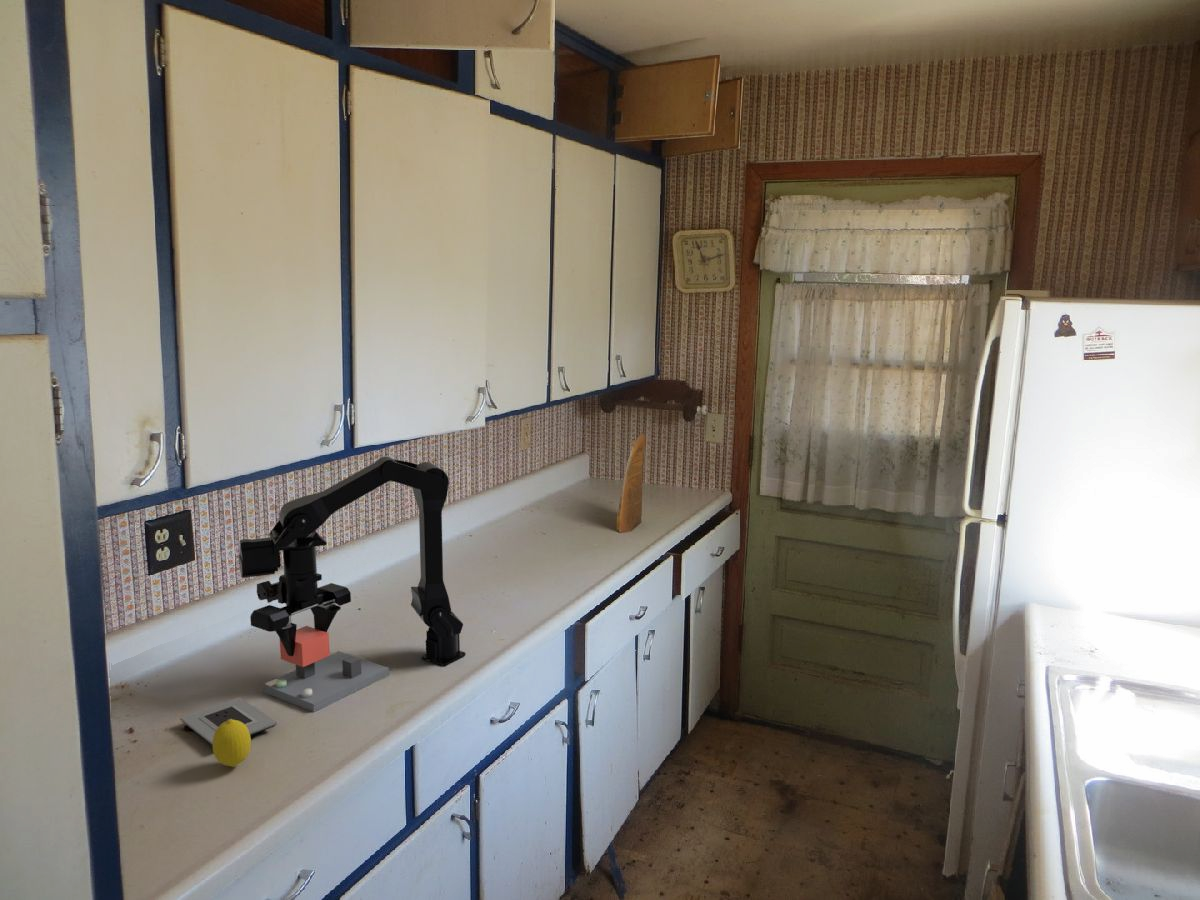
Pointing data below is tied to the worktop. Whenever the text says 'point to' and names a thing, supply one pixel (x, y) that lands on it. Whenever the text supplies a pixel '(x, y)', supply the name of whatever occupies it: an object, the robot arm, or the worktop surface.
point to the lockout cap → (307, 647)
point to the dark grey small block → (351, 666)
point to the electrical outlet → (234, 709)
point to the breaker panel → (324, 683)
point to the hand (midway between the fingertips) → (305, 649)
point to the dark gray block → (305, 670)
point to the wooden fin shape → (632, 489)
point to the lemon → (231, 742)
